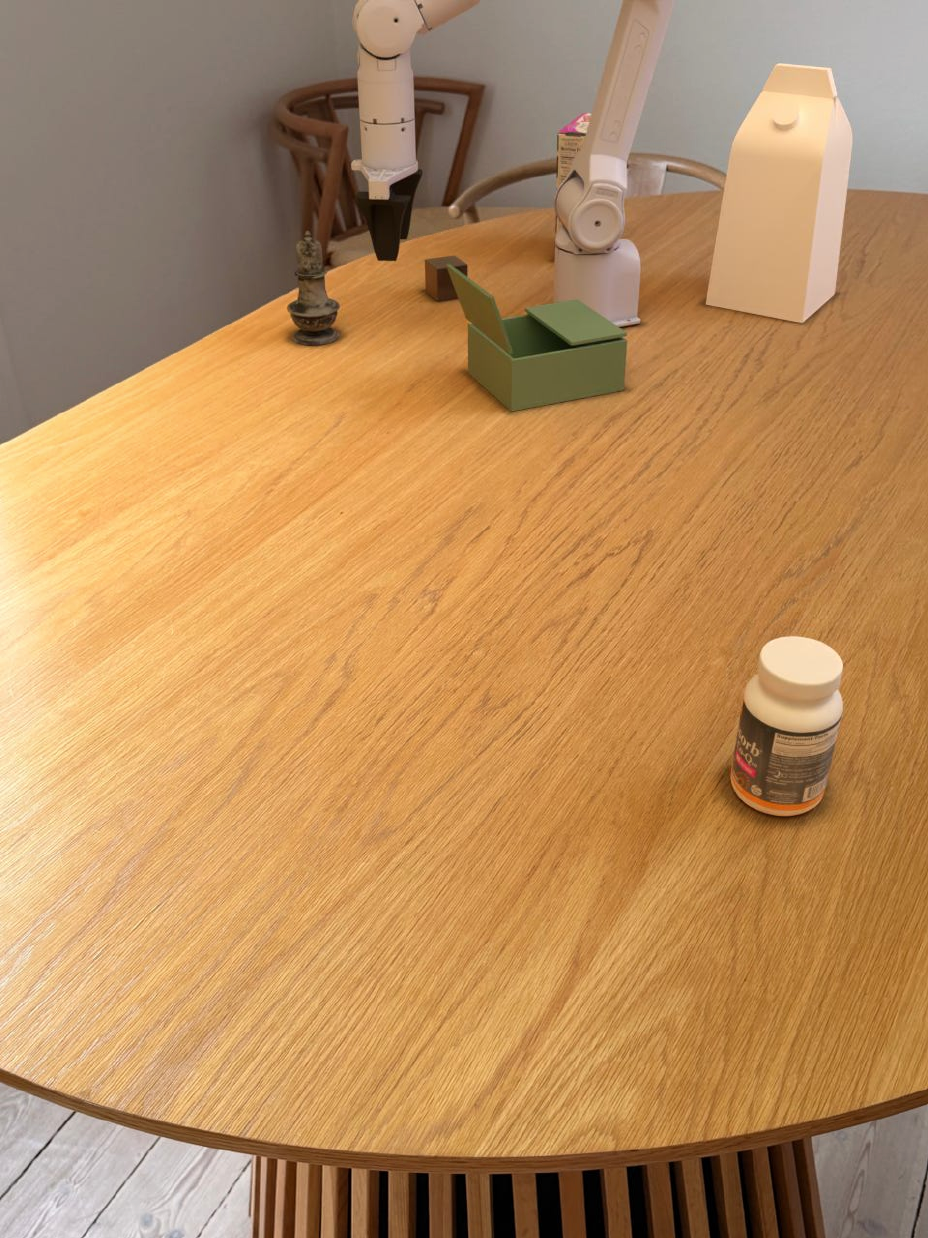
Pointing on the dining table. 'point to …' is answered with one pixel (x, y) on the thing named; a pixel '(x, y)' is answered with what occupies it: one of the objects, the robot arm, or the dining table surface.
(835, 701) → the pill bottle
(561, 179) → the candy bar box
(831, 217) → the milk
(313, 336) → the grey tall tiered piece
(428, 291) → the block
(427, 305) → the dining table surface
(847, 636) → the dining table surface
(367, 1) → the robot arm
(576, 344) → the carton
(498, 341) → the flap
